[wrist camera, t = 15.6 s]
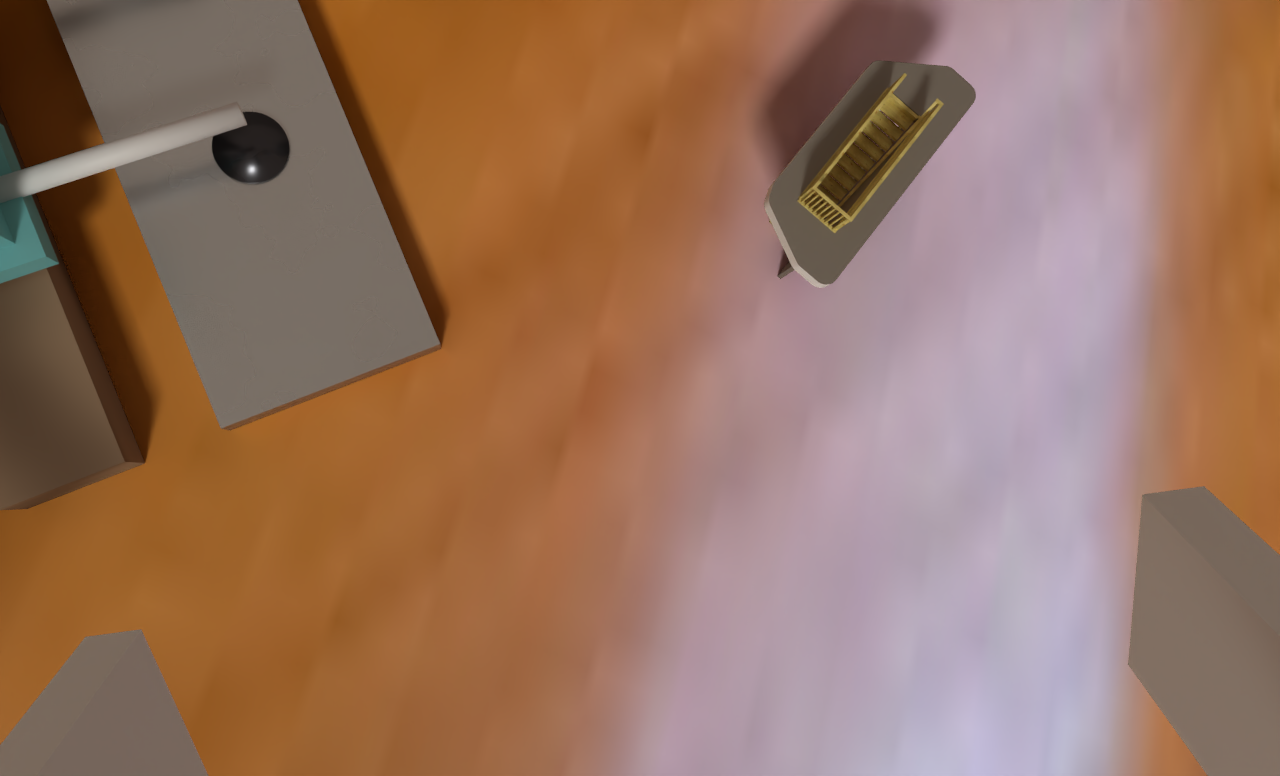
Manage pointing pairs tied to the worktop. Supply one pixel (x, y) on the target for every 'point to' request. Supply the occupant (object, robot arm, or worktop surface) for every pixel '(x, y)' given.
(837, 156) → the potted plant
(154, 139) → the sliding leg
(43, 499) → the grey l-shaped piece
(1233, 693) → the robot arm
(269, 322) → the plate
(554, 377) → the worktop surface
